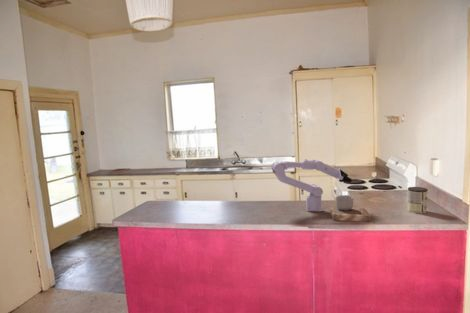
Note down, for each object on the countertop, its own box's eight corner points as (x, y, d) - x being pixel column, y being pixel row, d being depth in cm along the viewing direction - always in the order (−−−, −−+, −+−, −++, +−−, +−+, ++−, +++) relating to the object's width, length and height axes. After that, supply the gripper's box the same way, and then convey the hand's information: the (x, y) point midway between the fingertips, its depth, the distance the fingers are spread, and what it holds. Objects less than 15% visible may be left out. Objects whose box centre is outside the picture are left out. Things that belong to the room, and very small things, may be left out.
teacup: (354, 212, 192) (354, 199, 192) (336, 211, 195) (336, 198, 194) (351, 206, 206) (351, 194, 205) (333, 205, 208) (333, 193, 207)
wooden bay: (333, 220, 177) (333, 215, 177) (329, 211, 194) (329, 207, 194) (370, 221, 174) (370, 215, 174) (363, 212, 191) (363, 207, 190)
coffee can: (407, 208, 197) (407, 186, 196) (426, 210, 193) (426, 187, 191) (407, 212, 188) (407, 189, 187) (427, 214, 184) (428, 190, 182)
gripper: (336, 169, 189) (356, 177, 191) (330, 161, 203) (348, 169, 205) (331, 179, 192) (350, 187, 193) (324, 170, 205) (343, 178, 207)
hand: (349, 178), depth 199 cm, fingers open, 7 cm apart
